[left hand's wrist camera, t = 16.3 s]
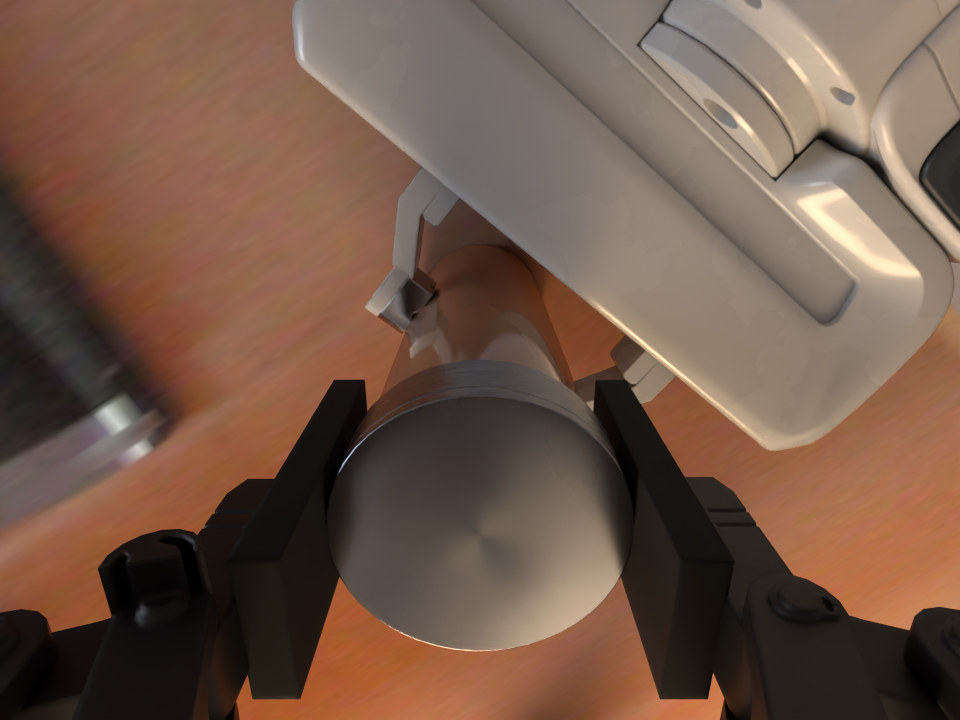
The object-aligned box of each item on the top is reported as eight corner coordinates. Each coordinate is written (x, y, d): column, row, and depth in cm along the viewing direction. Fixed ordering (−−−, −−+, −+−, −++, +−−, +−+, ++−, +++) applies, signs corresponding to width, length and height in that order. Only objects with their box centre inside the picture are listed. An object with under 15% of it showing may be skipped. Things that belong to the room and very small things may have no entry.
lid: (298, 411, 12) (270, 454, 10) (571, 319, 11) (586, 349, 9) (406, 617, 14) (397, 681, 12) (644, 550, 13) (667, 608, 11)
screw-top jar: (430, 233, 25) (360, 371, 10) (551, 257, 25) (650, 421, 10) (412, 348, 26) (331, 602, 12) (525, 368, 27) (578, 638, 12)
